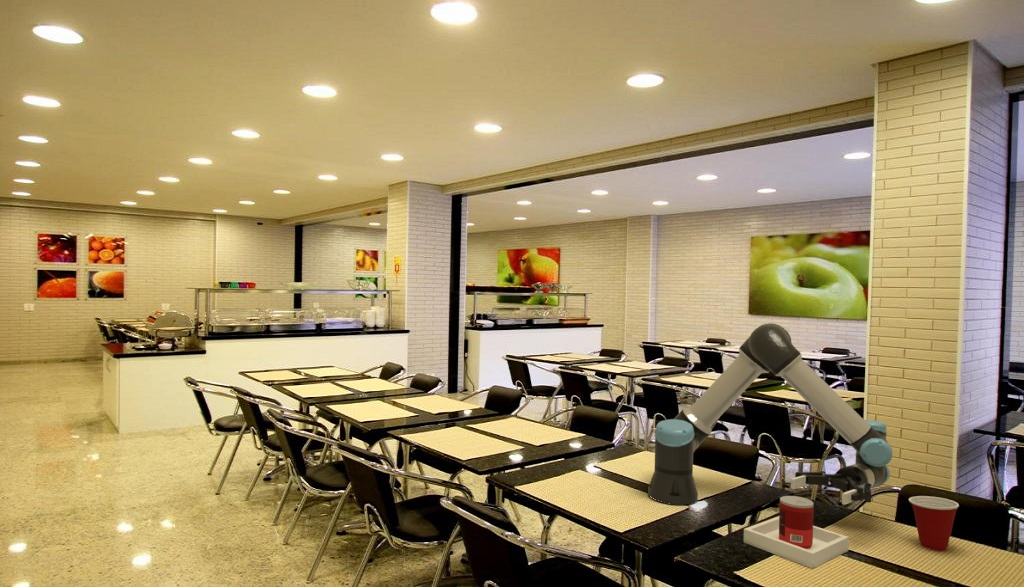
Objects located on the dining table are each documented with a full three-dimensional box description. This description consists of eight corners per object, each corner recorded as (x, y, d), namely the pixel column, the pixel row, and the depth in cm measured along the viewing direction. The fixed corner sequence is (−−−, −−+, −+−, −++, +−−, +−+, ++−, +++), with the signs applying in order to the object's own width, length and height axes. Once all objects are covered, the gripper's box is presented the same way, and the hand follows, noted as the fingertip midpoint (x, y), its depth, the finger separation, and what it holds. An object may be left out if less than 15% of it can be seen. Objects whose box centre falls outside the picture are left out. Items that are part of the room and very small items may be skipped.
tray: (743, 542, 158) (743, 528, 158) (780, 527, 169) (781, 515, 169) (812, 568, 144) (812, 553, 144) (848, 550, 155) (848, 537, 155)
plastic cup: (910, 534, 166) (911, 490, 167) (959, 545, 160) (960, 500, 160) (904, 546, 158) (905, 500, 158) (956, 559, 151) (957, 510, 151)
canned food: (819, 547, 154) (820, 504, 154) (794, 551, 151) (796, 507, 151) (796, 535, 161) (797, 494, 161) (772, 539, 159) (773, 497, 159)
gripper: (901, 505, 165) (866, 520, 152) (810, 480, 185) (772, 491, 172) (903, 478, 165) (867, 490, 152) (811, 455, 185) (773, 465, 172)
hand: (816, 491), depth 162 cm, fingers open, 13 cm apart
